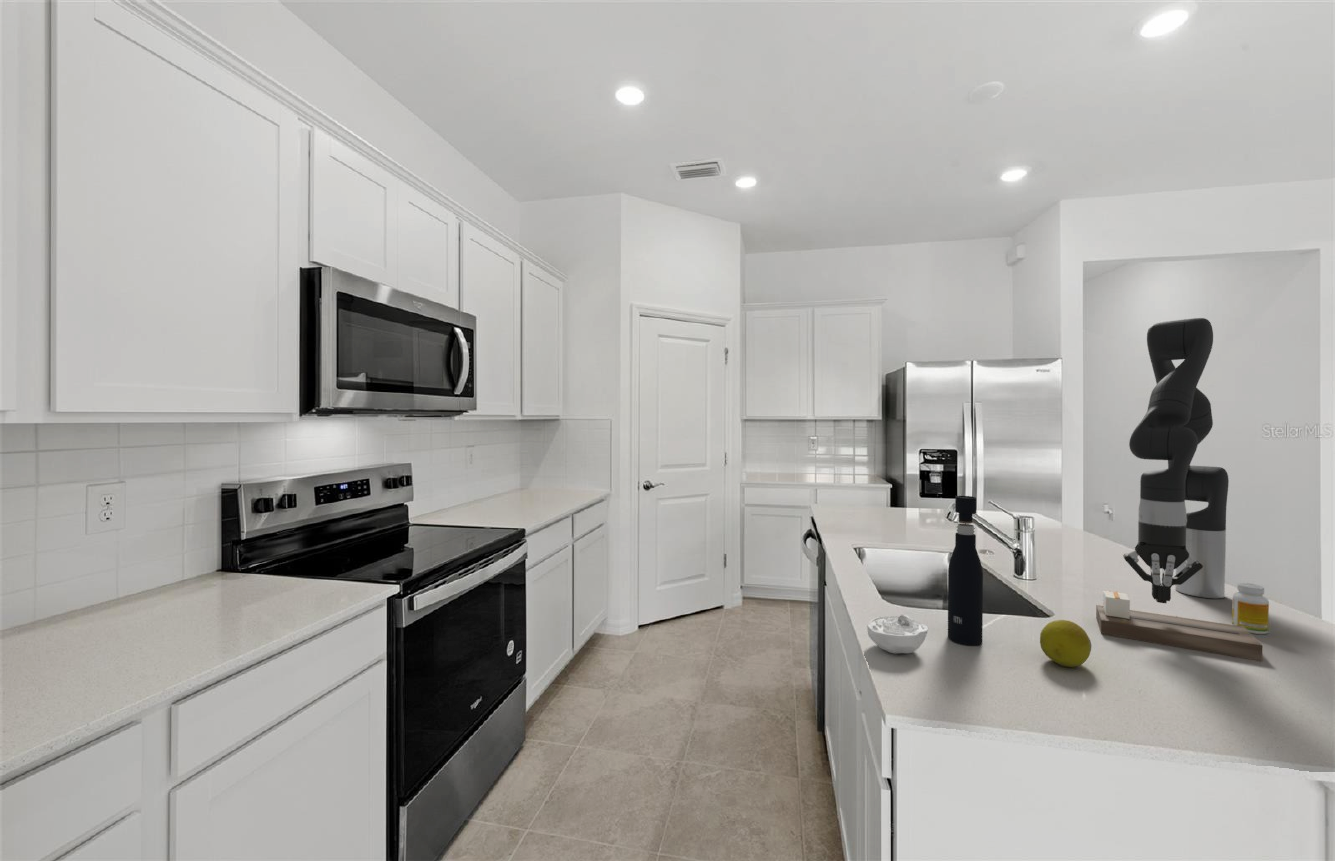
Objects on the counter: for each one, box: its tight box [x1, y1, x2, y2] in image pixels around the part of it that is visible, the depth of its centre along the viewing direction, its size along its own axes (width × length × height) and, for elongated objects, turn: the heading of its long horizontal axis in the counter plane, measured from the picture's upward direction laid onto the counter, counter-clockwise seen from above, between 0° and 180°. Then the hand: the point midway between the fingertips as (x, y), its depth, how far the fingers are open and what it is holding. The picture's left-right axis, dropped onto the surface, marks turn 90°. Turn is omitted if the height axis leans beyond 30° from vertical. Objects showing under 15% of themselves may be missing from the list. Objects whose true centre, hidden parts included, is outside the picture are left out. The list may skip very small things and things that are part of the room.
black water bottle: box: [947, 495, 984, 647], centre depth 114 cm, size 6×6×30 cm
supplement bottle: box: [1231, 582, 1270, 635], centre depth 118 cm, size 5×5×10 cm
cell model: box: [866, 614, 929, 654], centre depth 110 cm, size 10×12×7 cm
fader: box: [1102, 590, 1131, 619], centre depth 120 cm, size 5×4×4 cm
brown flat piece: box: [1095, 604, 1263, 662], centre depth 115 cm, size 11×24×3 cm, turn 56°
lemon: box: [1039, 619, 1092, 668], centre depth 103 cm, size 11×8×8 cm
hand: (1160, 601), depth 116 cm, fingers closed
